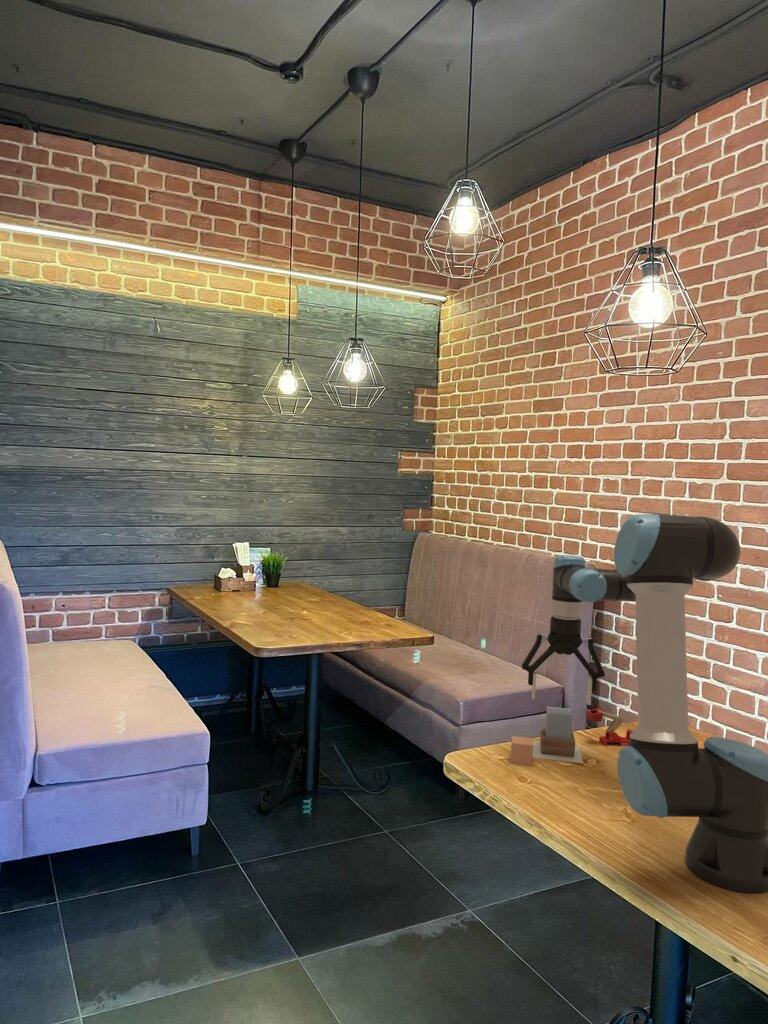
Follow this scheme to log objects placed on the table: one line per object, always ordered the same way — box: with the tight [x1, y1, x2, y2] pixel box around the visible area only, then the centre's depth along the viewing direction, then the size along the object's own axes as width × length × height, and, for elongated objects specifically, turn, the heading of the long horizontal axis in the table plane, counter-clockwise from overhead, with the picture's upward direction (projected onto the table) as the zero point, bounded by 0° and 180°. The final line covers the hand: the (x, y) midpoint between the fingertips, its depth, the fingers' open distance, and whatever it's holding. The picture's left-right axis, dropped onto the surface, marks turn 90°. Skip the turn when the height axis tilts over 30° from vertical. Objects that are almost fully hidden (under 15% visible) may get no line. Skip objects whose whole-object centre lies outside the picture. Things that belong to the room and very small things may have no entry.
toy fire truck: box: [586, 708, 634, 747], centre depth 199 cm, size 3×14×10 cm, turn 94°
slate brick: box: [544, 705, 573, 740], centre depth 191 cm, size 6×6×6 cm
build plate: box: [532, 740, 584, 764], centre depth 191 cm, size 12×12×1 cm
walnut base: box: [539, 727, 576, 758], centre depth 191 cm, size 8×8×4 cm
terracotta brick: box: [510, 735, 534, 766], centre depth 183 cm, size 5×5×6 cm
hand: (560, 700), depth 190 cm, fingers open, 13 cm apart
